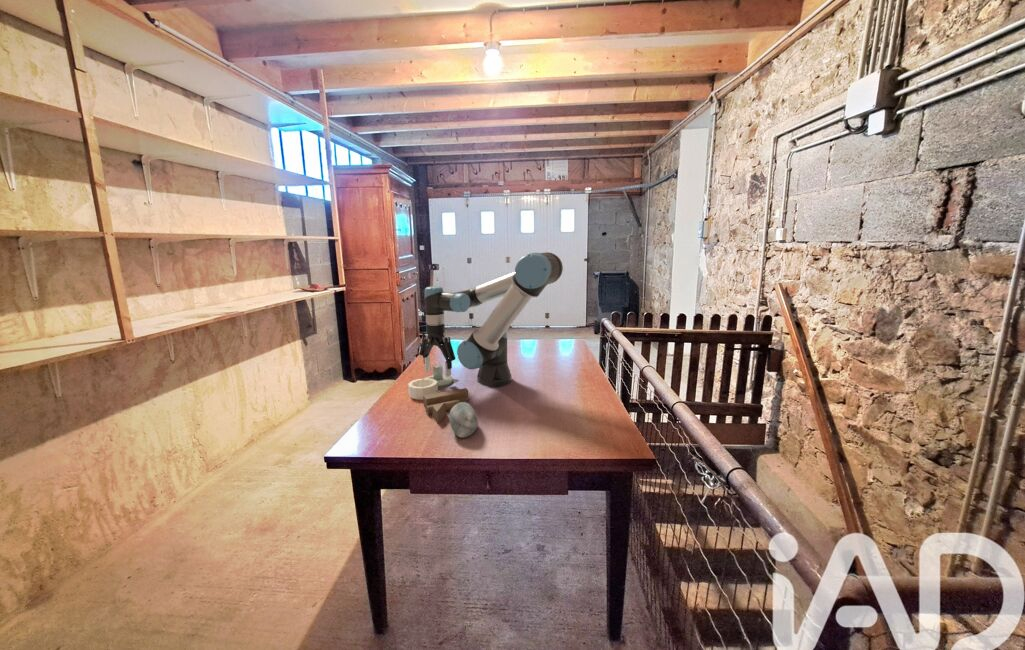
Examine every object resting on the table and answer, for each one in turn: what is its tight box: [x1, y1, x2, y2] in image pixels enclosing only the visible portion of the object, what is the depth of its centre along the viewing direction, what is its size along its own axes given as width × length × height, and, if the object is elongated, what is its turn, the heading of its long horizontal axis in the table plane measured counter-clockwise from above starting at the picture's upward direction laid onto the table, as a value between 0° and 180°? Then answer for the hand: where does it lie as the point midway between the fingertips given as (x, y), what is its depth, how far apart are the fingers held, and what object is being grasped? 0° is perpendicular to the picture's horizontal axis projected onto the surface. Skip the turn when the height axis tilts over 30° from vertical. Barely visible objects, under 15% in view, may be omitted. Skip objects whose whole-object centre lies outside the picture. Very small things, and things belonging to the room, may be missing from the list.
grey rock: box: [448, 401, 479, 439], centre depth 123 cm, size 14×10×10 cm
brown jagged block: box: [422, 387, 469, 424], centre depth 139 cm, size 17×6×18 cm
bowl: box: [407, 377, 439, 400], centre depth 153 cm, size 11×11×5 cm
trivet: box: [438, 378, 461, 391], centre depth 167 cm, size 13×13×1 cm
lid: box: [425, 364, 453, 387], centre depth 166 cm, size 12×12×7 cm
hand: (437, 373), depth 166 cm, fingers open, 11 cm apart
